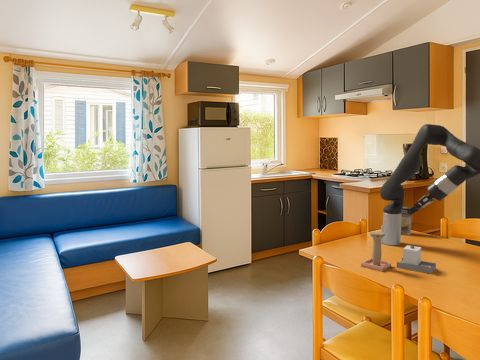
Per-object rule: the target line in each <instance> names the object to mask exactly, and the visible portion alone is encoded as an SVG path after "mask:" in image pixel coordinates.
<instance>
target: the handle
mask: <svg viewBox="0 0 480 360" xmlns="http://www.w3.org/2000/svg"><path fill="white" fill-rule="evenodd" d="M369 236H370V237H372V250H371V252H372V253H371V258H372V260H373V265H376V266H380V262H381V260H382V243H381V238H383V237H384V236H385V233H383V232H381V231H370V232H369Z"/></svg>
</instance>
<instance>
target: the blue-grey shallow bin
mask: <svg viewBox="0 0 480 360" xmlns="http://www.w3.org/2000/svg"><path fill="white" fill-rule="evenodd" d="M436 267H437V263H436V262H430V261H424V260H421V263H420V264H419V265H412V264H407V263H403V256H402V257H401V261H396V268H399V269H403V270H407V271H408V270H410V271H415V272H419V273H426V274H431V275H432V274H433V273H434V271H436V269H437V268H436Z"/></svg>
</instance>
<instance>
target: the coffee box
mask: <svg viewBox="0 0 480 360" xmlns="http://www.w3.org/2000/svg"><path fill="white" fill-rule="evenodd" d="M412 207H413V206H403V208H402V211H401V236H402V235H405V236H411V231H412V230H411V229H412V215H410V214H409V213H408V210H409V209H411V208H412Z"/></svg>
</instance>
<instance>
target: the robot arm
mask: <svg viewBox="0 0 480 360" xmlns="http://www.w3.org/2000/svg"><path fill="white" fill-rule="evenodd" d="M426 145H430V146H431V145H432V146H442V147H445V149H446V151H447V153H449V154H450V155H451V156H452V157H454V158H456V159H458V161H462V162H463V163H465V164H466V166H461V165H458V164H457V165H454V166H452V167H451V168H449V169H448V170H447V171H446V172H444V173H443V174H442V175H441V176H439V177H438V178H436V179H435V180H434V181H433V182H432V183H431V184H429V185H427V186H426V190H427V192H428V193H426V194H424V195H423V196H422V197H421V198H420V199H418V200H417V202H416V203H414V204H413V206H411V207H412V208H411V209H409V210H408V213H409V214H410V215H411V216H412V215H413V214H415V213H417V212H418V211H419V210H421V209H423V208H425V207H426V206H429V204H432V203H433V202H434V200H436V201H440V202H441V201H443V200H444V199H445V198H447V196H449V195H450V194H451V193H453V192H454V191H455V190H456V189H457V188H458V187H459V186H460V185H462V184H463V183H465V181H466V180H467V181H468V179H472V178H474V177H476V176H477V175H479V174H480V148H478V147H477V146H474V145H472V144H469V143H467V142H465V141H463V140H461V139H459V138H458V137H456V136H455V135H454V134H453V133H451V131H449V129H447V128H446V127H445V126H443V125H439V124H431V123H430V124H429V123H425V124H423V125H422V126H421V127H420V128H419V129H418V131H417V134H416V136H415V137H414V139H413V141H412V143H411V145H410V147H409V148H408V150H407V152H406V153H405V154H404V156H403V157H402V159H401V160H400V162H399V163H398V165H397V167H396V168H395V169H394V171H393V172H392V173H391V175H390V176H389V178H387V180H386V181H385V182H384V183H383V184H382V186H381V187H380V191H379V195H380V198H381V199H382V200H383V201H388V202H389V201H390V203H388V204H387V205H384V206H383V208H382V209H383V210H382V211H383V217H382V218H383V219H382V225H381V227H380V228H381V230H380V232H383V233H385V236H384V237H383V238H381V244H384V245H387V246H400V245H401V241H402V240H401V238H402V234H401V211H402V208H403V207H404V200H405V199H404V197H405V190H404V186H403V185H402V184H403V183H405V182H407V181H408V180H410V179H411V178H413V177H414V176H415V175H416V173H417V172H418V171H419V170H420V169H421V166H422V165H423V161H422V159H423V158H422V151H423V148H425V146H426Z"/></svg>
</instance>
